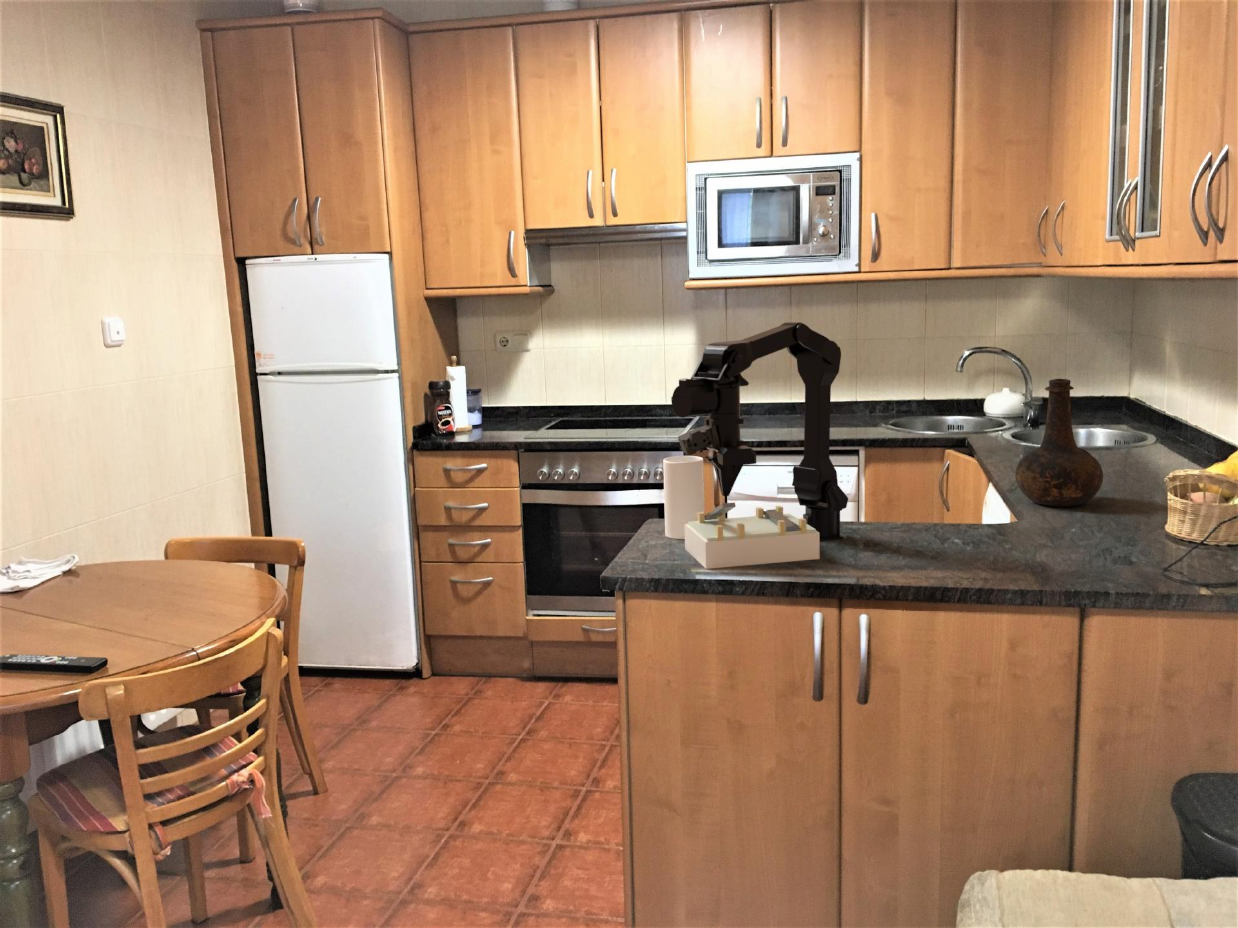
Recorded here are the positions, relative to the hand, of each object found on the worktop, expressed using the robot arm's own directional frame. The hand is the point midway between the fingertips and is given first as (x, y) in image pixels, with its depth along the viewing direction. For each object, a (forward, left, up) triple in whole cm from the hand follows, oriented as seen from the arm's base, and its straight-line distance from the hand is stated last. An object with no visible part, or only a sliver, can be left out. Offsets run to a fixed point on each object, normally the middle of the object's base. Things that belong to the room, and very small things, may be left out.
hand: (725, 495), depth 188 cm
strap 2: (-12, -3, -7) cm, 14 cm away
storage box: (-6, -4, -13) cm, 14 cm away
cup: (+2, -23, -13) cm, 26 cm away
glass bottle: (-85, -24, -13) cm, 89 cm away
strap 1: (0, -4, -4) cm, 6 cm away
